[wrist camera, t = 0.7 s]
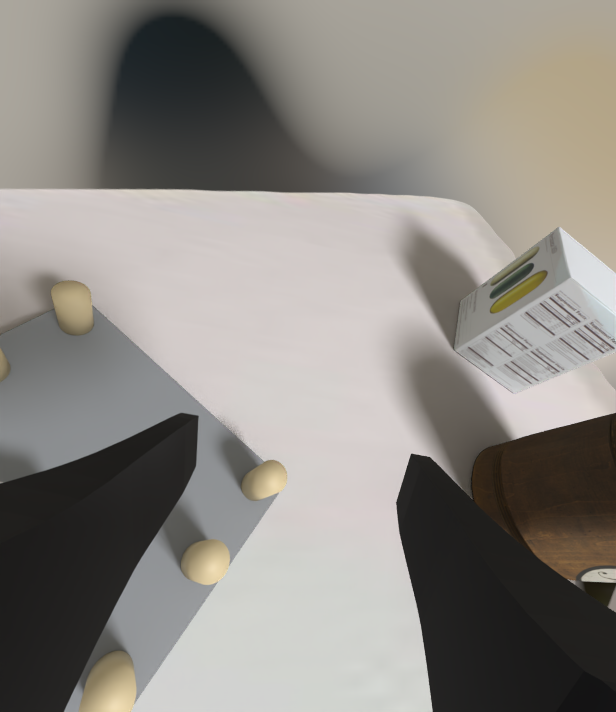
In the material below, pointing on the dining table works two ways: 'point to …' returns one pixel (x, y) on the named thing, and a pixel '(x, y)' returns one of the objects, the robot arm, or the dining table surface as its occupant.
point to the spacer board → (107, 427)
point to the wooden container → (556, 496)
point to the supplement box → (540, 315)
